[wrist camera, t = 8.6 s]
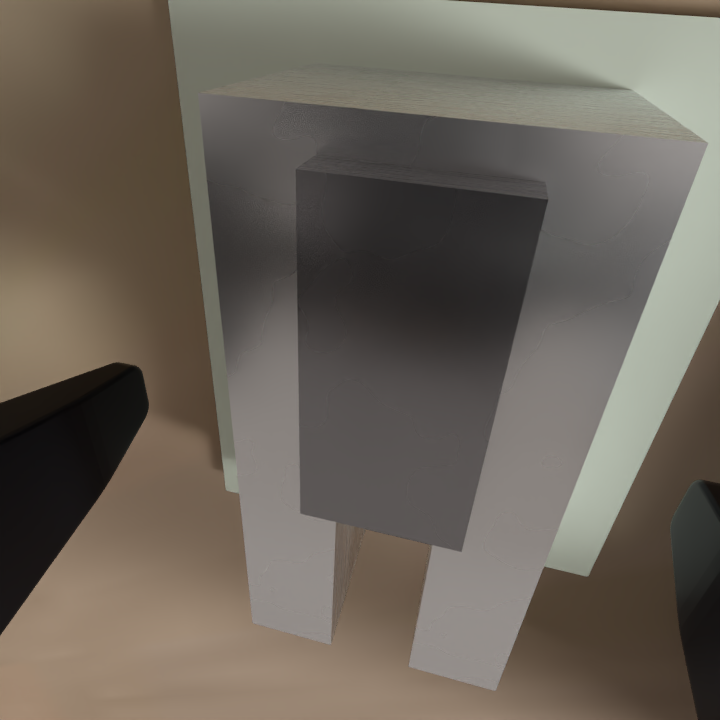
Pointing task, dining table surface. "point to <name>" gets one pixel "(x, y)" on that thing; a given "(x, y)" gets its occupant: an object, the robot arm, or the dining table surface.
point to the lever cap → (426, 325)
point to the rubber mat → (514, 62)
